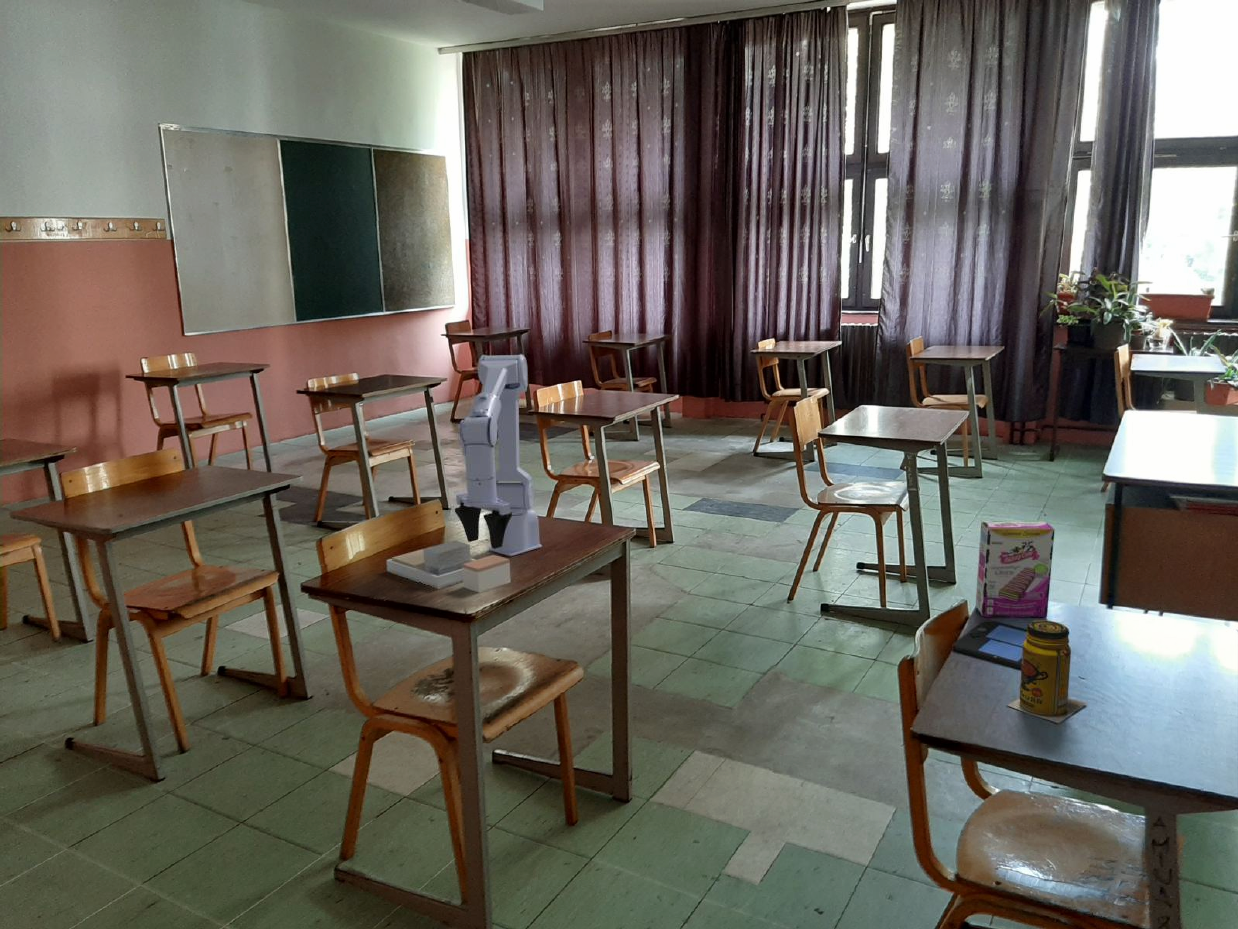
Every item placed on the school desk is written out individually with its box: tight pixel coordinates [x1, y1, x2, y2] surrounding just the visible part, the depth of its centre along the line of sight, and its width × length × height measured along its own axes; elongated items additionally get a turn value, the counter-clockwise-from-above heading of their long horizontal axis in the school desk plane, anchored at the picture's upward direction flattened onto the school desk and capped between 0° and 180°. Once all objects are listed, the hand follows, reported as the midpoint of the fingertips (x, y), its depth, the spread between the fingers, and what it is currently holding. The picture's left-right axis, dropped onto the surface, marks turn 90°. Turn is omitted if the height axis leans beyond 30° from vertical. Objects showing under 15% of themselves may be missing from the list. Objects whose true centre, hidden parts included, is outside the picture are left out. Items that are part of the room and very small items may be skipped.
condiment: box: [1006, 620, 1088, 724], centre depth 127 cm, size 7×8×12 cm
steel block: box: [422, 540, 471, 576], centre depth 191 cm, size 8×5×6 cm, turn 137°
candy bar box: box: [975, 520, 1056, 618], centre depth 161 cm, size 11×5×16 cm, turn 84°
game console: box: [951, 620, 1027, 671], centre depth 147 cm, size 14×13×2 cm
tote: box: [385, 545, 476, 590], centre depth 194 cm, size 12×18×3 cm
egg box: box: [462, 554, 511, 594], centre depth 185 cm, size 8×5×5 cm, turn 137°
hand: (484, 544), depth 184 cm, fingers open, 7 cm apart
